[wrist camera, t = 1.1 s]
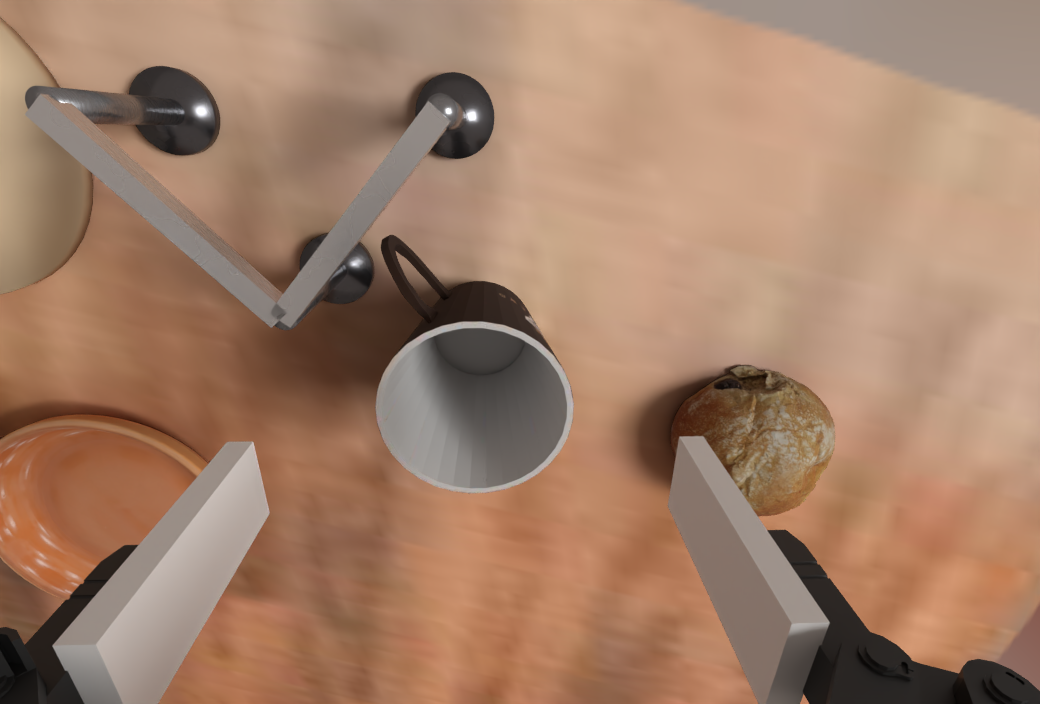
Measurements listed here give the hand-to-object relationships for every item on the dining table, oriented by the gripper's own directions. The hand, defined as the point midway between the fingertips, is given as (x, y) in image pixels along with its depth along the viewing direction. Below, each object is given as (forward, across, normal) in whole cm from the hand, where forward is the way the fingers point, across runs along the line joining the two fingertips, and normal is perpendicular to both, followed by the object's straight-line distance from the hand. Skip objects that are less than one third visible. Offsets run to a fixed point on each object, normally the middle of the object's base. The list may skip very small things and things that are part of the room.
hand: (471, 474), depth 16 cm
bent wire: (+16, -8, +6) cm, 19 cm away
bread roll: (+17, +18, -9) cm, 26 cm away
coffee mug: (+16, 0, 0) cm, 16 cm away
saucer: (+17, -24, -14) cm, 33 cm away
